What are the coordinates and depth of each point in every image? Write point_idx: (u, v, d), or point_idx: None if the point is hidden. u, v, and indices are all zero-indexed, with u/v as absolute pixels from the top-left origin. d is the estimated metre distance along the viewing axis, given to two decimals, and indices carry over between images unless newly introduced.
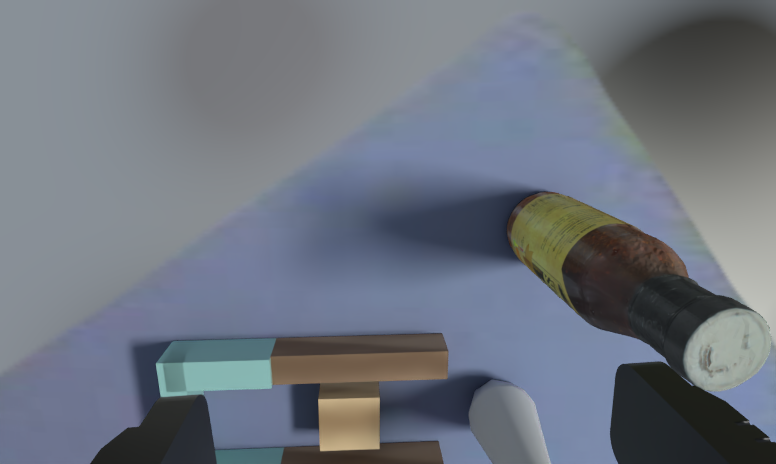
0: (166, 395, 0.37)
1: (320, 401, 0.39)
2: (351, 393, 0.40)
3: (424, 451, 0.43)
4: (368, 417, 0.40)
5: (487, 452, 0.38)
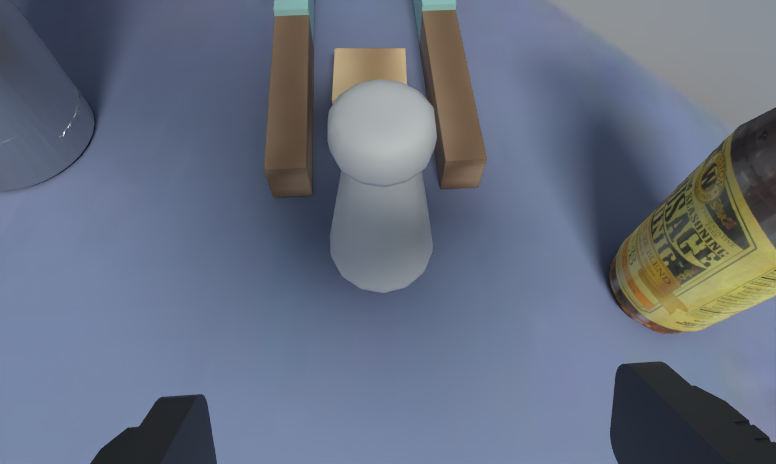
0: None
1: (402, 50, 0.34)
2: None
3: (310, 165, 0.31)
4: None
5: None
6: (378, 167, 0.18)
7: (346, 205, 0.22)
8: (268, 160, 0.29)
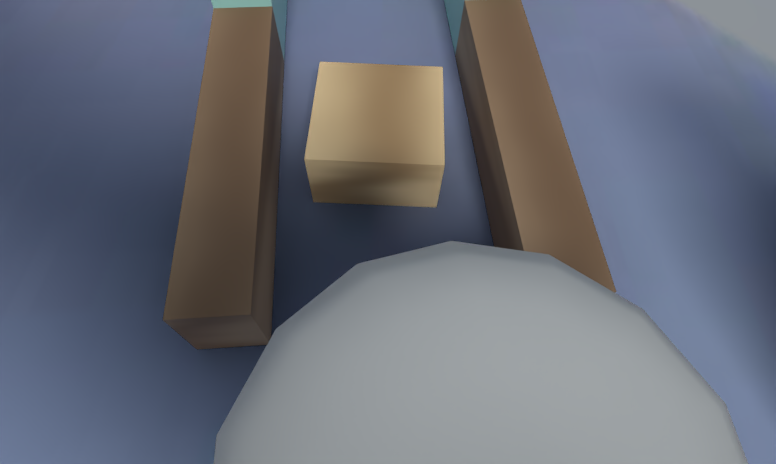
0: None
1: (437, 69, 0.20)
2: None
3: (265, 291, 0.16)
4: (393, 142, 0.18)
5: None
6: None
7: None
8: (174, 297, 0.14)
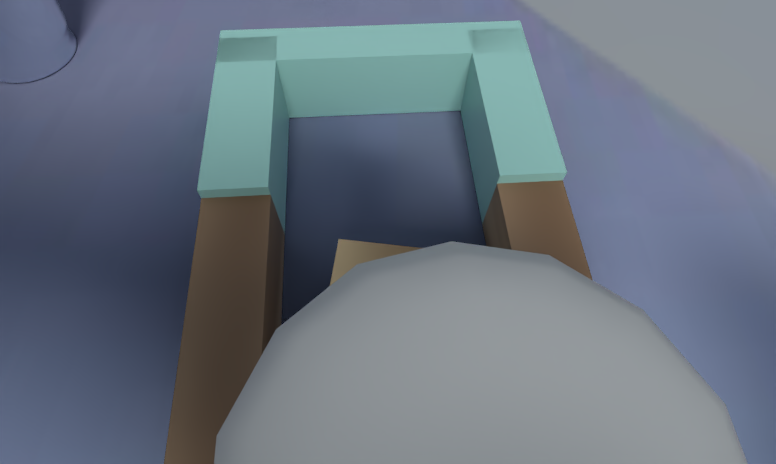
0: (460, 29, 0.22)
1: None
2: None
3: None
4: None
5: None
6: None
7: None
8: None
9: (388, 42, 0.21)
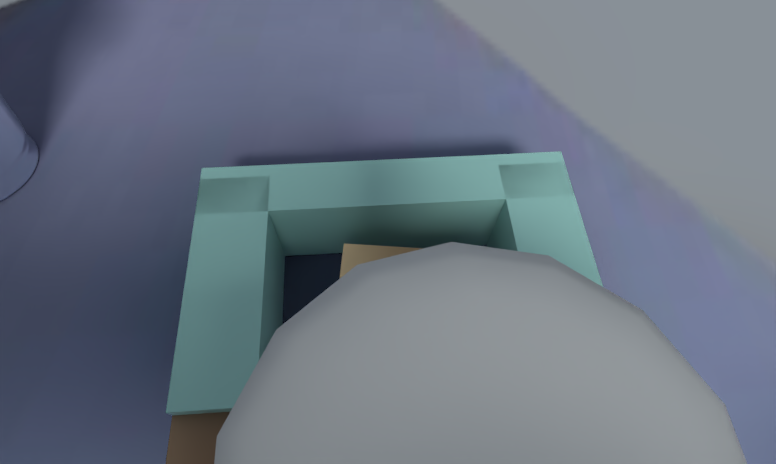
0: (489, 164, 0.18)
1: None
2: None
3: None
4: None
5: None
6: None
7: None
8: None
9: (403, 184, 0.17)
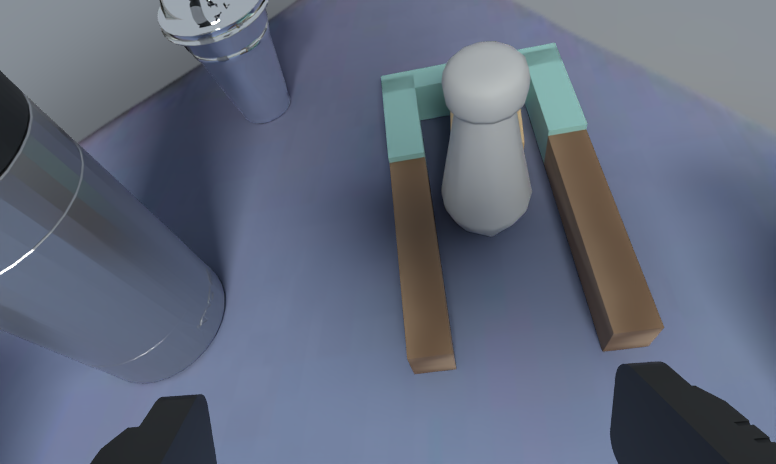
0: None
1: None
2: None
3: (451, 338, 0.28)
4: None
5: None
6: (488, 105, 0.23)
7: (459, 151, 0.27)
8: (410, 346, 0.27)
9: None
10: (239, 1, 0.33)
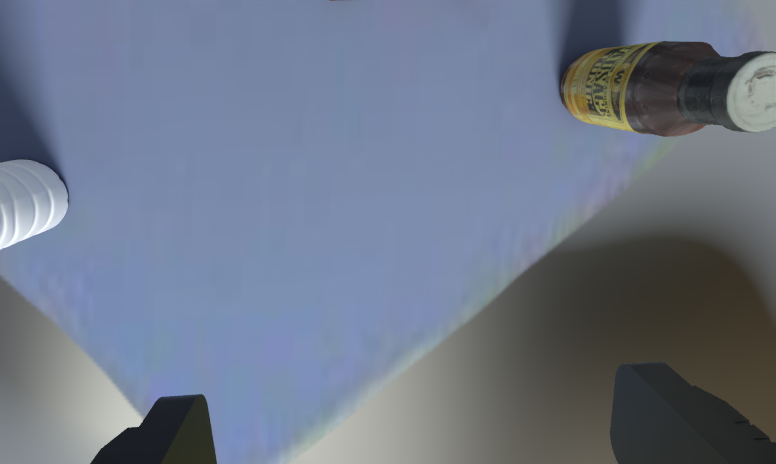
0: None
1: None
2: None
3: None
4: None
5: None
6: None
7: None
8: None
9: None
10: None
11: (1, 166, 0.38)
